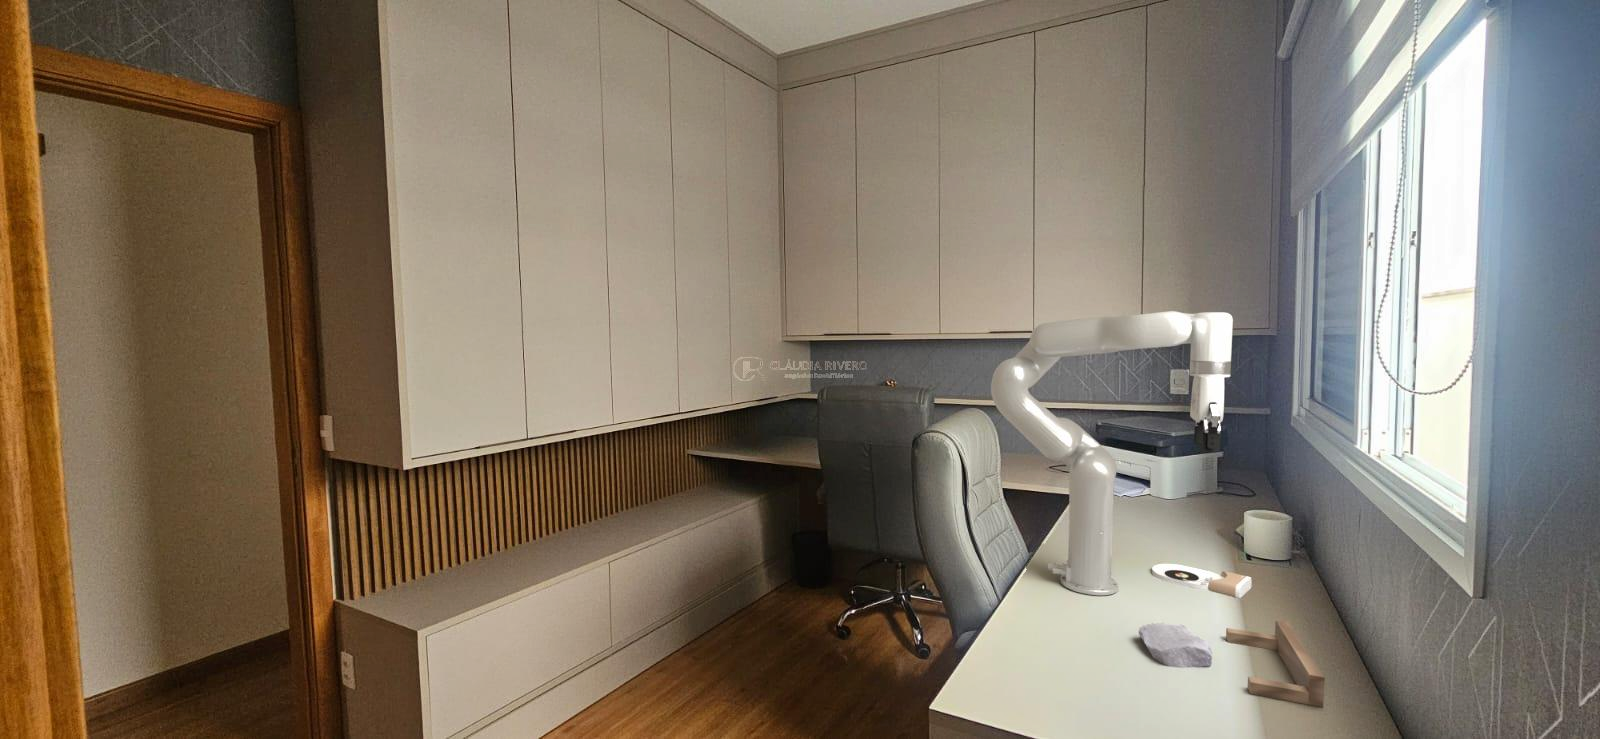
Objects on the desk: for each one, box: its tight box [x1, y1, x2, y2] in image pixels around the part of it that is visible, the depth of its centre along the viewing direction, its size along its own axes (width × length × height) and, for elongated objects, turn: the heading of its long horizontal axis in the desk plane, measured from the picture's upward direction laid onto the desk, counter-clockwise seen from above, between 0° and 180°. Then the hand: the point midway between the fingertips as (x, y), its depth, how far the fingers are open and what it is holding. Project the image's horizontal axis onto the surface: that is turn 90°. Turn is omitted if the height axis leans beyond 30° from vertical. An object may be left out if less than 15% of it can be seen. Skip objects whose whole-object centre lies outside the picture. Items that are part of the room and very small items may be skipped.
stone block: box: [1138, 622, 1213, 669], centre depth 126 cm, size 12×5×10 cm
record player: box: [1151, 563, 1253, 599], centre depth 162 cm, size 12×3×20 cm
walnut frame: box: [1225, 620, 1326, 708], centre depth 120 cm, size 10×22×5 cm, turn 156°
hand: (1206, 447), depth 145 cm, fingers open, 9 cm apart
